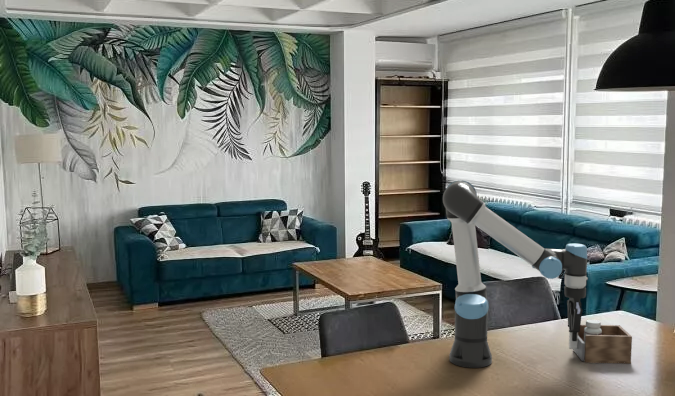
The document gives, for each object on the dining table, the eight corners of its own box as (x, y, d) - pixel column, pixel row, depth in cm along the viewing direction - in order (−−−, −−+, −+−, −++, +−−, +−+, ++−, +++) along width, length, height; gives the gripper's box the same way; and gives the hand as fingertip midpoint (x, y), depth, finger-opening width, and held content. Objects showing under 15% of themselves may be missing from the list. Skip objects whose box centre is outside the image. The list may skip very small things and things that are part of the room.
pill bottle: (596, 348, 267) (597, 318, 266) (604, 353, 261) (605, 323, 260) (580, 348, 266) (581, 319, 265) (588, 354, 260) (589, 323, 259)
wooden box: (585, 362, 258) (586, 335, 256) (575, 350, 271) (576, 324, 270) (630, 363, 256) (632, 336, 255) (618, 351, 270) (619, 325, 269)
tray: (581, 360, 258) (582, 343, 257) (572, 349, 271) (573, 332, 270) (626, 361, 257) (627, 344, 256) (615, 350, 270) (616, 333, 269)
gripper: (590, 290, 255) (588, 354, 258) (581, 282, 268) (578, 343, 271) (569, 290, 256) (566, 354, 258) (560, 281, 268) (558, 342, 271)
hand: (573, 348), depth 264 cm, fingers closed
